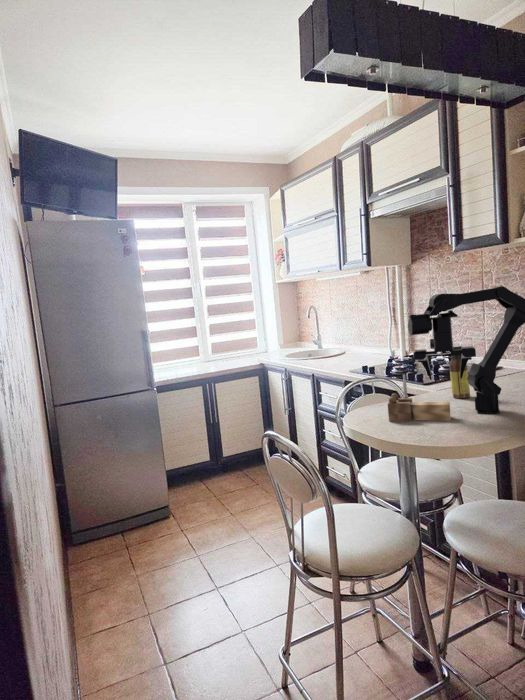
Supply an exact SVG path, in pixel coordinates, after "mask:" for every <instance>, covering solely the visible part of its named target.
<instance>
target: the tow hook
mask: <svg viewBox="0 0 525 700" xmlns="http://www.w3.org/2000/svg"><path fill="white" fill-rule="evenodd" d="M402 378H403V379H402V389H403V396H402V398H409V395H408V388H407V387H408V386H407V379H406V374H405V373H403V374H402Z"/></svg>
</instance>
